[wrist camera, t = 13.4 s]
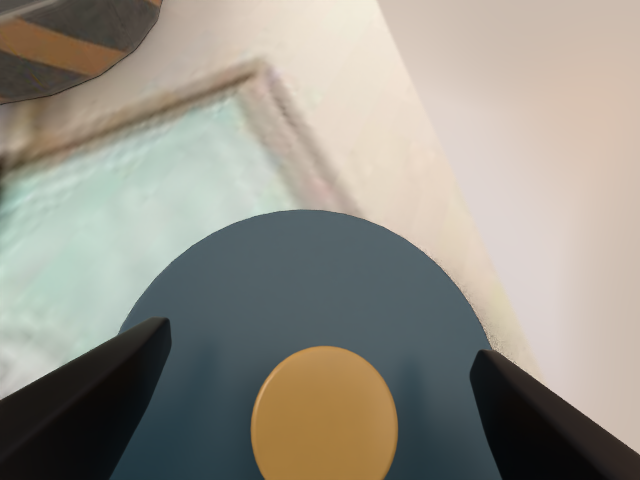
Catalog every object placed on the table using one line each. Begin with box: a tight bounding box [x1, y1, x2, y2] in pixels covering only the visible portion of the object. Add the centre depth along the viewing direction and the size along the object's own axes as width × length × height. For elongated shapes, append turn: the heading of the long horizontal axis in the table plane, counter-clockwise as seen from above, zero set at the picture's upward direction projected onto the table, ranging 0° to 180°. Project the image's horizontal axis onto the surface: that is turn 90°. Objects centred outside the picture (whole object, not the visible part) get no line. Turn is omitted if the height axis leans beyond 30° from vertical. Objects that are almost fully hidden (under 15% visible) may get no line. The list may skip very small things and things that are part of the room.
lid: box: [109, 210, 502, 480], centre depth 9 cm, size 13×13×7 cm
